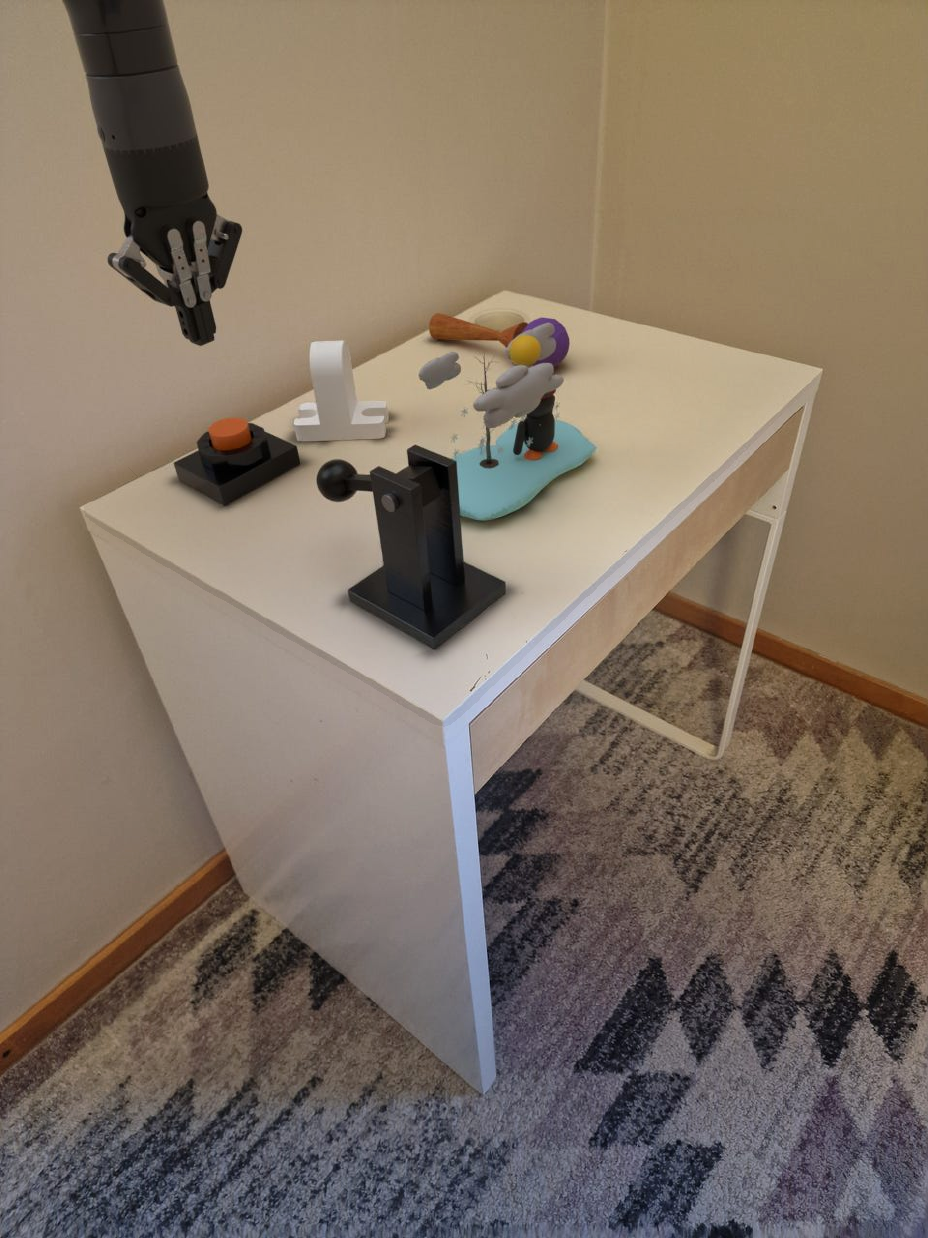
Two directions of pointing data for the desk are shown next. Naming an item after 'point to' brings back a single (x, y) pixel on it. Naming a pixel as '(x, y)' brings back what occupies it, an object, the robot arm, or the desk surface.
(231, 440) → the button
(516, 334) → the kendama
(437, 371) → the penguin figurine
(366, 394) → the desk surface
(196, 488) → the button housing
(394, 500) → the switch bracket
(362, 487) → the lever
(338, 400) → the white mounting bracket
